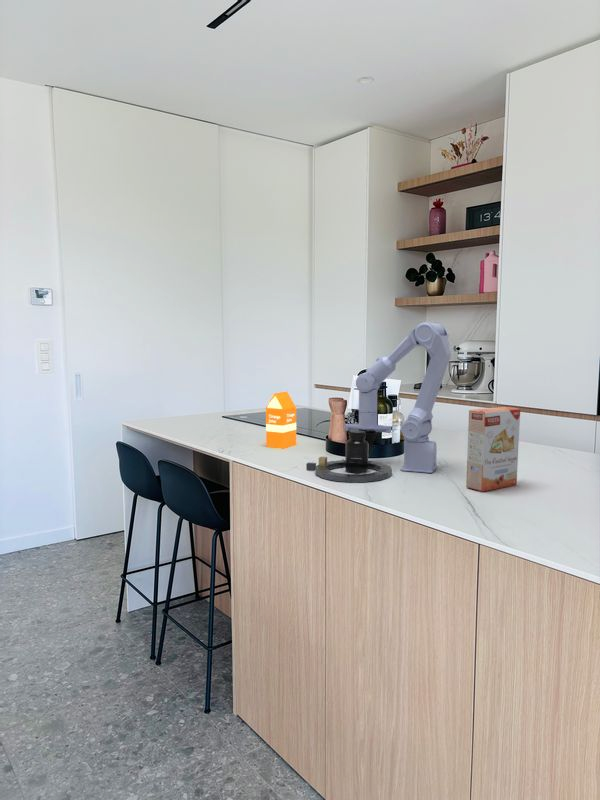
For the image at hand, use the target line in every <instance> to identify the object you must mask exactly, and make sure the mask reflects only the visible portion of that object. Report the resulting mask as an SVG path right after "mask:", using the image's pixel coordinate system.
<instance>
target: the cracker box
mask: <svg viewBox="0 0 600 800" xmlns="http://www.w3.org/2000/svg"><path fill="white" fill-rule="evenodd" d="M520 420H521V409H520V408H518V407H508V406H500V407H497V406H496V407H489V408H488V407H487V408H477V409H469V410H468V428H467V430H468V431H467V433H468V434H467V454H466V455H467V458H466V485H465V486H466V488H468V489H472V490H476V491H478V492H487V491H492V490H497V489H501V488H502V489H503V488H507V487H511V486H517V485H518V482H517V480H518V465H519V463H518V461H519V444H520V425H521V424H520V423H521V422H520Z"/></svg>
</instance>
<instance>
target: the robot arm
mask: <svg viewBox="0 0 600 800" xmlns="http://www.w3.org/2000/svg"><path fill="white" fill-rule="evenodd" d="M421 346H422V347H423V348H424V349H425V350H426V352H427V353H428V355H429V357H430V360H429V363H428V365H427V368H426V372H425V374H424V376H423V379H422V383H421V385H420V389H419V392H418V395H417V397H416V401H415V403H414V406H413V408H412V410H410V412H409V413H408V416H407V419H406V420H405V421H404V422H402V425H401V426H400V432H401V435H402V437H403V438H404V440H403V442H404V443H403V448H404V449H403V452H404V453H403V466H402V467H401V468H400V469H399V470H400V471H402V472H403V471H404V472H416V473H429V474H432V473H434V471H435V470H436V469H437V442H436V441H433V440H430V439H429V435H430V434H431V432H432V430H433V425H432V421H433V419H434V418H433V417H434V416H433V413H432V411H433V409H434V405H435V402H436V400H437V397H438V394H439V391H440V388H441V385H442V382H443V380H444V377H445V373H446V371H447V369H448V368H447V367H448V365H449V362H450V359H451V354H452V353H451V348H450V341H449V332H448V330H447V329H446V327H445V326H444V325H443V324H442V323H439V322H428V321H427V322H426V321H424V322H421V323H419V324H417V326H416V327H415V328H413V329H412V330H411V331H410V332H408V334H407V335H406V336H405V338H404V339H403V340H402V341H401V342H400V343H399V344H398V345H397V346H396V347H395V348H394V349H393V351H391V352H390V353H389V355H388V356H385V355H384V356H381V357H377V358H376V359H375V361H376V362H375V363H374V364H372V365H371V367H370V368H367V369H366V370H365V373H360V374H359V375H358V376H357V377H356V380H355V388H357V390H358V423H346V424H344V431H345V432H347V431H348V432H350V431H353V430H359V431H365V436H366V438H365V440H366V441H367V442H368V444H369V450H368V456H370V455H371V454H372V449H373V445H374V443H375V439H376V437H377V436H378V433H383V434H385V433H386V434H390V433H392V426H391V425H381V424H378V390H379V389H380V388H381V384H382V383H383V382H384V381H385V380H386V379H388V377H390V375H392V374H393V373H394V372H395V371H396V365H397V363H399V362H400V361H401V360H402V359H403V358H405V357H406V356H407V355H408V354H409V353H410V352H412V351H413V349H415V348H418V347H421Z"/></svg>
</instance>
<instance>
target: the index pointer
mask: <svg viewBox="0 0 600 800" xmlns="http://www.w3.org/2000/svg"><path fill="white" fill-rule="evenodd" d="M316 466H317V463H316V462H310V461H308V462H307V463H306V466H305V467H306V471H316Z"/></svg>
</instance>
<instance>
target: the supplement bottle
mask: <svg viewBox="0 0 600 800" xmlns="http://www.w3.org/2000/svg"><path fill="white" fill-rule="evenodd" d="M348 438H349V439H348V440H346V442H345V459H344V460H345V467H344V468H345V471H346V472H348V473H349V474H366V473H368V471H369V468H368V461H369V455H368V450H369V444H368V442H367V441H366V440H365V438H366V436H365V431H359V430H353V431H348Z"/></svg>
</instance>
